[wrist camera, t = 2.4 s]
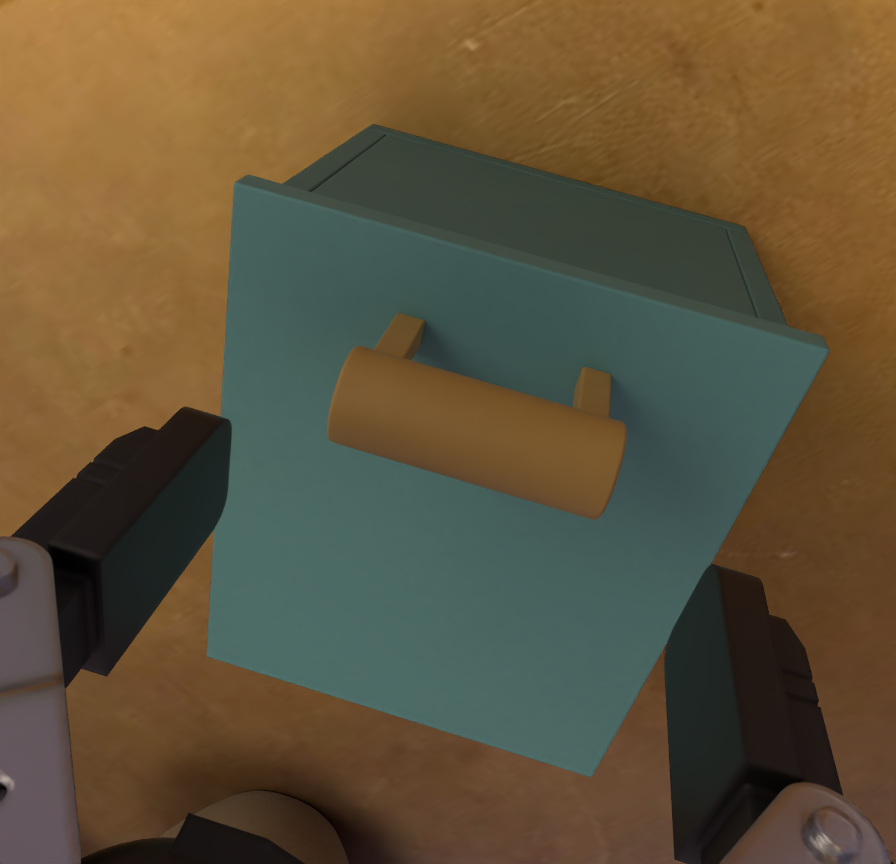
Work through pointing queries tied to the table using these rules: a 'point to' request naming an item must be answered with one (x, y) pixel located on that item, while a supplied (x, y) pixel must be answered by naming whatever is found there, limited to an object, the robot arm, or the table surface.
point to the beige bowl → (277, 825)
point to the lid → (474, 470)
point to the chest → (547, 217)
